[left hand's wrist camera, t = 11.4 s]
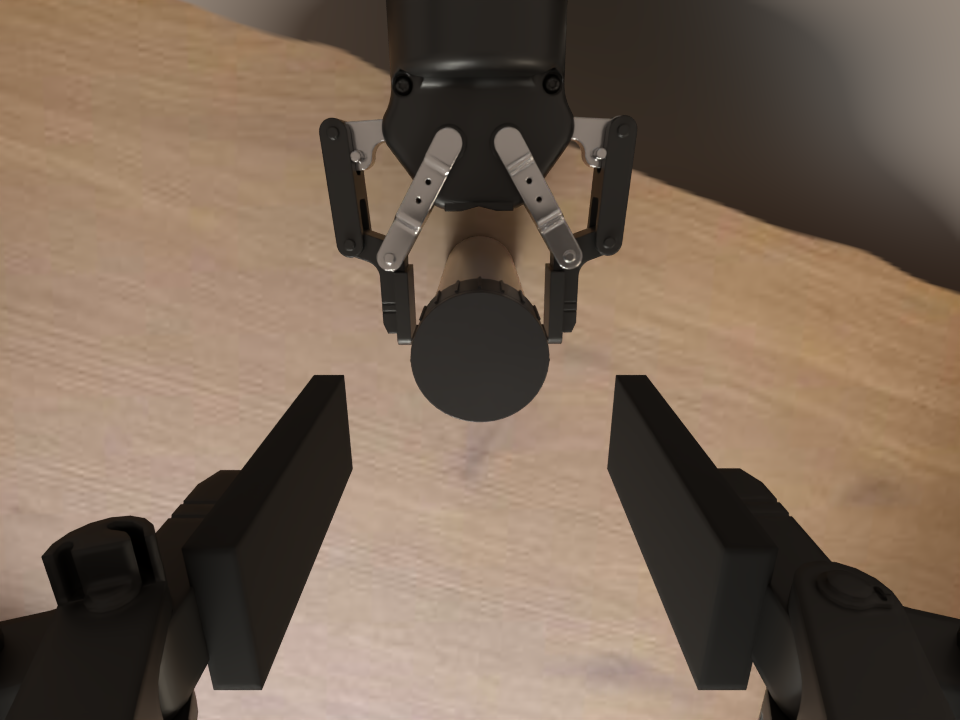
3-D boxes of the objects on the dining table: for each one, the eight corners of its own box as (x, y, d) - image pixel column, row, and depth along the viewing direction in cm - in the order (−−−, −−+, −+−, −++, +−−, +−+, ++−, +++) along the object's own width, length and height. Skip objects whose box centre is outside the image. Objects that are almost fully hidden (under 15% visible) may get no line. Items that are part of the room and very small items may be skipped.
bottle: (449, 307, 34) (427, 415, 20) (441, 238, 33) (412, 302, 18) (516, 301, 34) (543, 406, 20) (512, 232, 33) (537, 291, 18)
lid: (423, 403, 22) (417, 429, 20) (407, 281, 20) (398, 296, 18) (546, 393, 22) (553, 419, 19) (540, 270, 20) (547, 284, 18)
